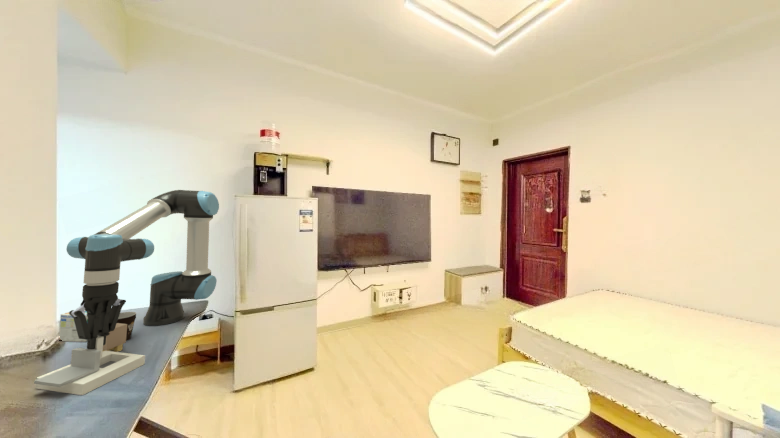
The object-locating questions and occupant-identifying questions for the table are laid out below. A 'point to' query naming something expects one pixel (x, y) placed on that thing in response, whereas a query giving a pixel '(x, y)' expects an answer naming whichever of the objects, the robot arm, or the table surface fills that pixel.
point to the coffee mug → (127, 322)
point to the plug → (116, 338)
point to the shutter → (74, 368)
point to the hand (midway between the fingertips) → (95, 357)
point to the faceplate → (99, 373)
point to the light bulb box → (69, 328)
